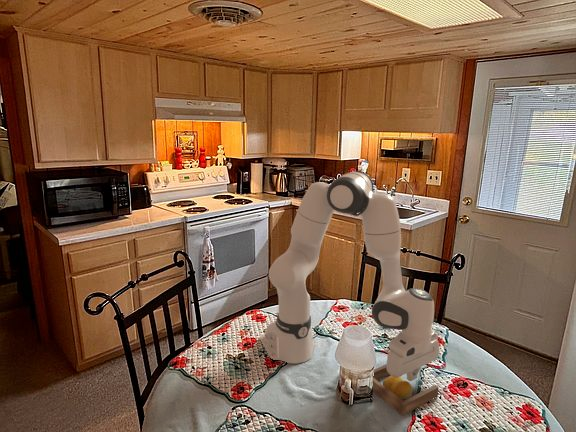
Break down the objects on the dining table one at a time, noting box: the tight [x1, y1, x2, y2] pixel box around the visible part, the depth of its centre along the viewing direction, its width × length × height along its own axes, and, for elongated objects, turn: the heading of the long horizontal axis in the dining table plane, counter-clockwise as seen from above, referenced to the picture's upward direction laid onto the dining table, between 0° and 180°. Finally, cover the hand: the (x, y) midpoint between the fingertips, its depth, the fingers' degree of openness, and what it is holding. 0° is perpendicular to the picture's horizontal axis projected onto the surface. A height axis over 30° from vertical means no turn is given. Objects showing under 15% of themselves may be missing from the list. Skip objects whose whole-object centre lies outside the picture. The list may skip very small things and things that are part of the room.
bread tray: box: [373, 363, 439, 416], centre depth 122 cm, size 16×15×4 cm
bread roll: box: [382, 375, 414, 401], centre depth 122 cm, size 8×9×4 cm
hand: (411, 378), depth 125 cm, fingers closed
